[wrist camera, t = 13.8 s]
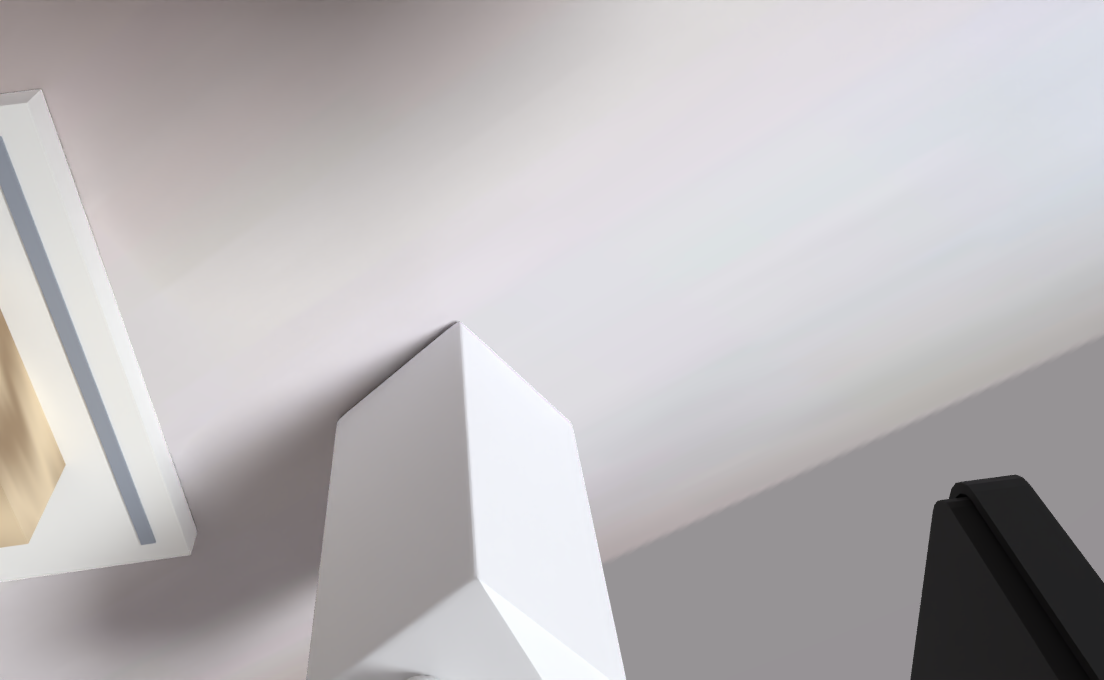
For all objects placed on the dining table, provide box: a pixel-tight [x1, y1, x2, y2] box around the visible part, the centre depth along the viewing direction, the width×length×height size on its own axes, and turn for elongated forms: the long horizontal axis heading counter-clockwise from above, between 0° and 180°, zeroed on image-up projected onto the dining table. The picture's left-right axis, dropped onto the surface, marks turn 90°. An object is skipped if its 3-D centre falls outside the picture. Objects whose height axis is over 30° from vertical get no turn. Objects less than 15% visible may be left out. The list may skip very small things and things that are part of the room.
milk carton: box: [306, 322, 626, 680], centre depth 37 cm, size 7×7×19 cm
